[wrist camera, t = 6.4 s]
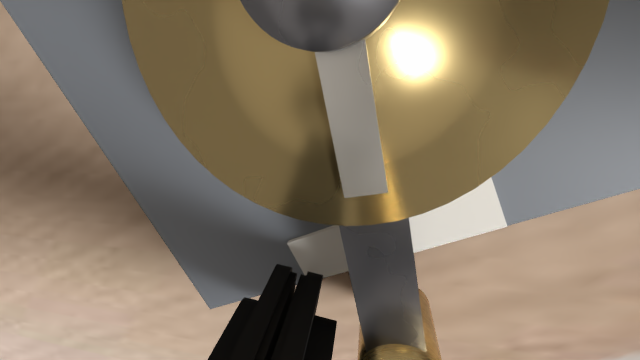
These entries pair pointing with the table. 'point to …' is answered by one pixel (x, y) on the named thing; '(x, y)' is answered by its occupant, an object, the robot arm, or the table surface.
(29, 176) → the table surface
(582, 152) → the board
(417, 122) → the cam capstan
